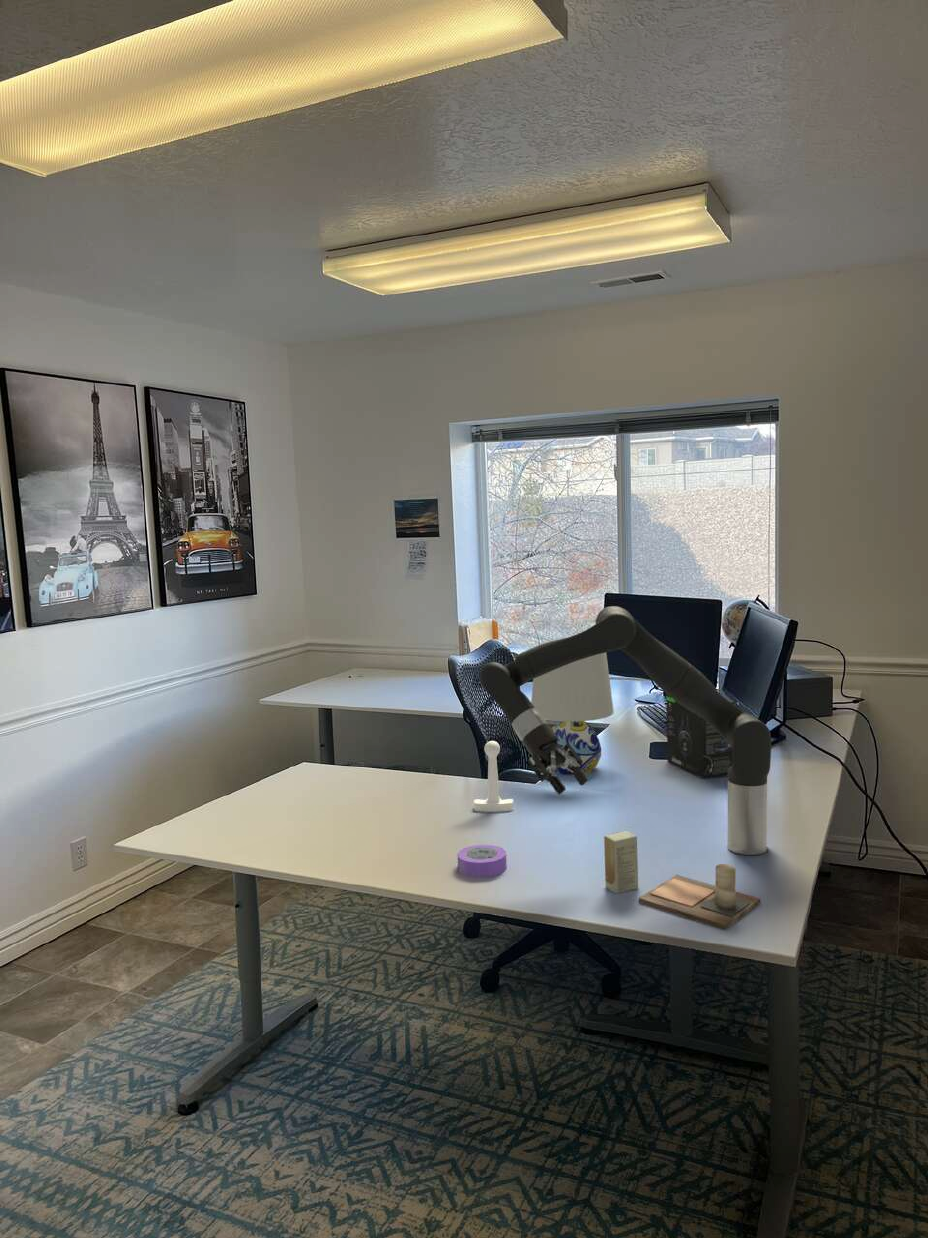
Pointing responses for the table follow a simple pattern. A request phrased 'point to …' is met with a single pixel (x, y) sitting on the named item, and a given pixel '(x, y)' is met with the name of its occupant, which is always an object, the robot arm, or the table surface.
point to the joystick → (493, 785)
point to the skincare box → (621, 861)
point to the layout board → (703, 898)
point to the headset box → (695, 743)
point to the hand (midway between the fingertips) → (573, 787)
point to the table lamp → (576, 705)
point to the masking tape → (482, 861)
